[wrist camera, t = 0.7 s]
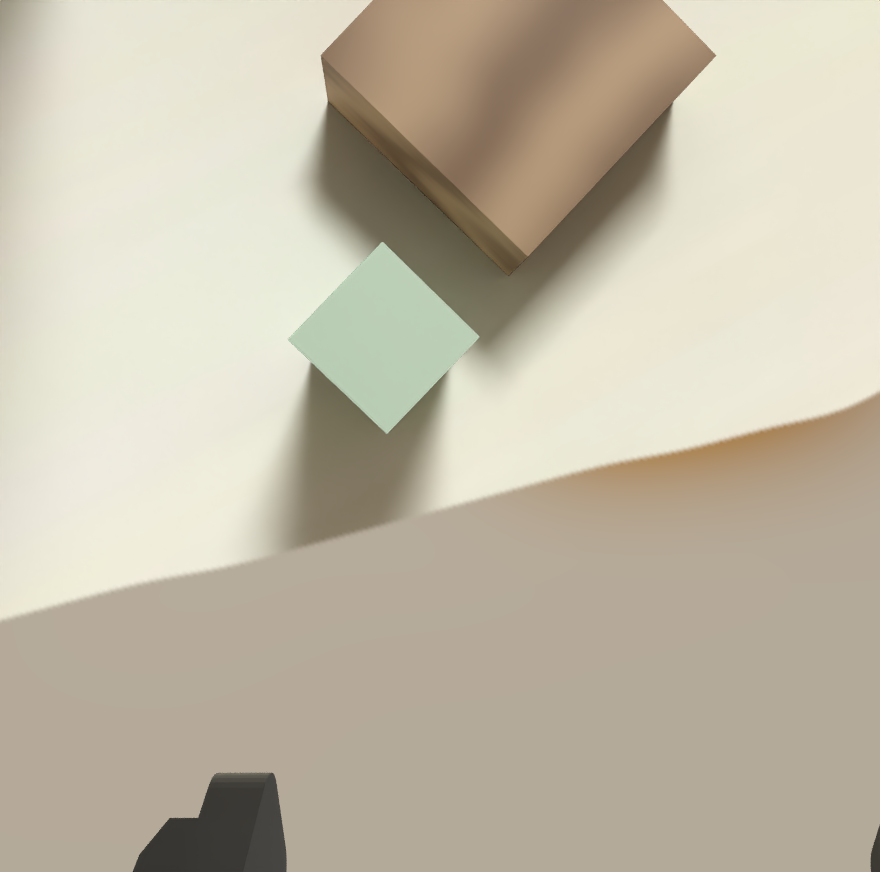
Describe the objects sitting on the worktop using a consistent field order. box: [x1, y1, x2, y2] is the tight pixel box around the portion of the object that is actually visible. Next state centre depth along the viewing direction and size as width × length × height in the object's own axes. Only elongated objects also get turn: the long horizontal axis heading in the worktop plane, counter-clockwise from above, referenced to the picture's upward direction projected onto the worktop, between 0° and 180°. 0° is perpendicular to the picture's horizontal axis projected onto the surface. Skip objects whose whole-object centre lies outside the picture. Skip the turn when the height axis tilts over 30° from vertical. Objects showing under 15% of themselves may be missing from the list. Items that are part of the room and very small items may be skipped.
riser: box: [321, 0, 716, 276], centre depth 34 cm, size 11×11×5 cm
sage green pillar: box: [288, 242, 480, 434], centre depth 31 cm, size 4×4×10 cm
